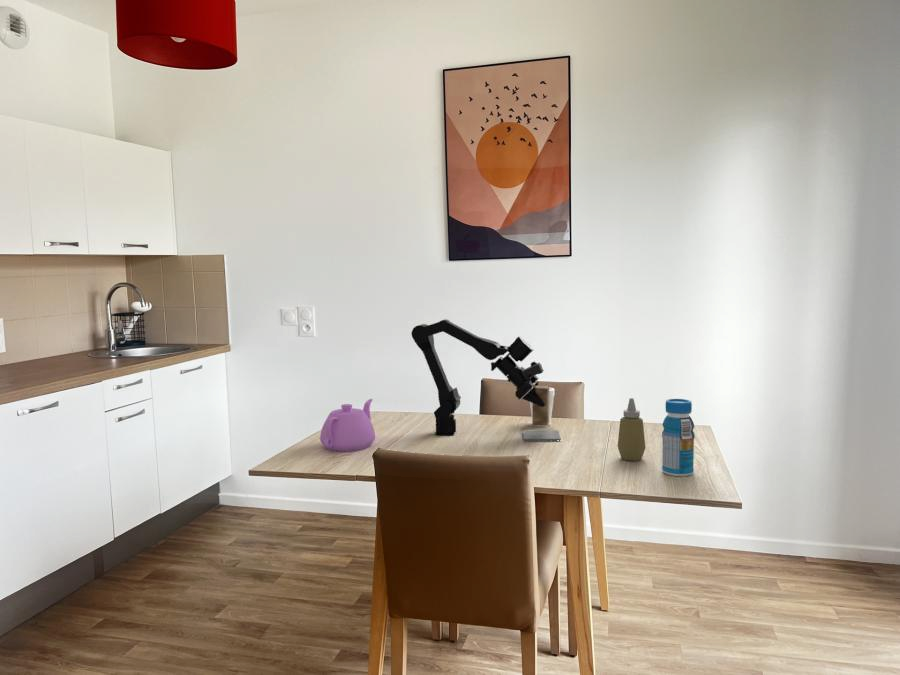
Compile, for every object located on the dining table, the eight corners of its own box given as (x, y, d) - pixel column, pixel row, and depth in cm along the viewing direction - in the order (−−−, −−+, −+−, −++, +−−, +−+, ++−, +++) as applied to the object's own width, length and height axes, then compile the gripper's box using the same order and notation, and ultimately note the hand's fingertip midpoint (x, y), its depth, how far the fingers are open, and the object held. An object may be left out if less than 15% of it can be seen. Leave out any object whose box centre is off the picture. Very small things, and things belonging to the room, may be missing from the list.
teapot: (348, 457, 211) (347, 413, 210) (304, 451, 220) (302, 408, 219) (393, 439, 233) (392, 399, 232) (351, 434, 242) (350, 395, 240)
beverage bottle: (659, 475, 187) (660, 402, 185) (663, 467, 194) (664, 397, 192) (692, 478, 183) (693, 404, 181) (695, 470, 191) (696, 398, 189)
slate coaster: (524, 441, 227) (524, 438, 227) (523, 432, 239) (523, 430, 239) (560, 441, 226) (560, 438, 226) (558, 432, 238) (558, 430, 238)
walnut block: (532, 424, 230) (532, 388, 229) (534, 421, 235) (534, 385, 234) (547, 425, 229) (547, 388, 228) (549, 422, 234) (549, 385, 233)
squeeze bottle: (614, 455, 208) (614, 396, 206) (641, 454, 207) (642, 395, 206) (620, 462, 200) (620, 401, 198) (648, 462, 199) (649, 401, 198)
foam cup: (554, 421, 255) (553, 387, 254) (555, 427, 246) (555, 391, 245) (528, 421, 256) (527, 387, 255) (528, 427, 247) (528, 391, 246)
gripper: (525, 358, 222) (559, 393, 220) (532, 351, 240) (564, 383, 238) (501, 381, 224) (535, 416, 223) (509, 373, 242) (541, 405, 241)
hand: (544, 404), depth 231 cm, fingers closed on walnut block, 5 cm apart
